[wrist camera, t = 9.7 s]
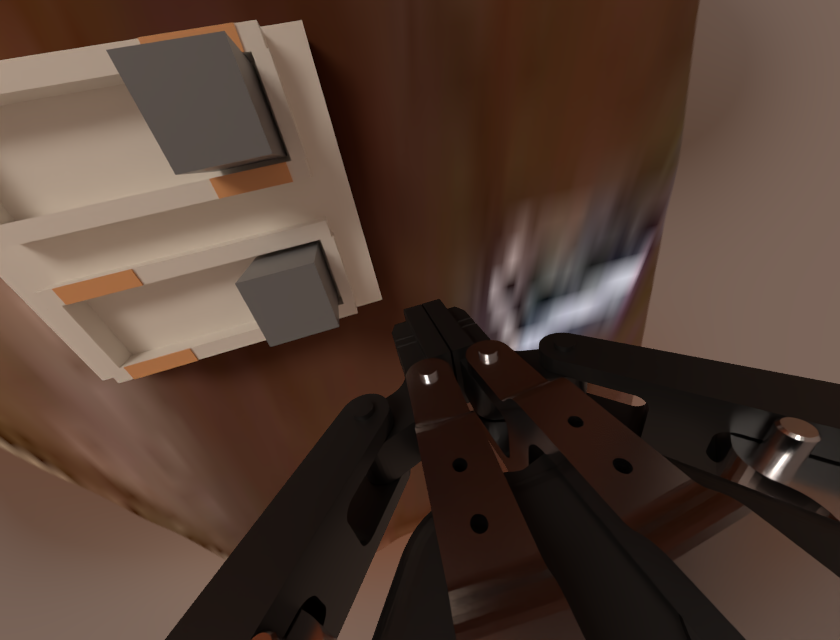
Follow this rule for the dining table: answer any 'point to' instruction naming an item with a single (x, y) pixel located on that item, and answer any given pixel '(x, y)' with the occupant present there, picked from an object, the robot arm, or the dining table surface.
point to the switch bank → (162, 207)
